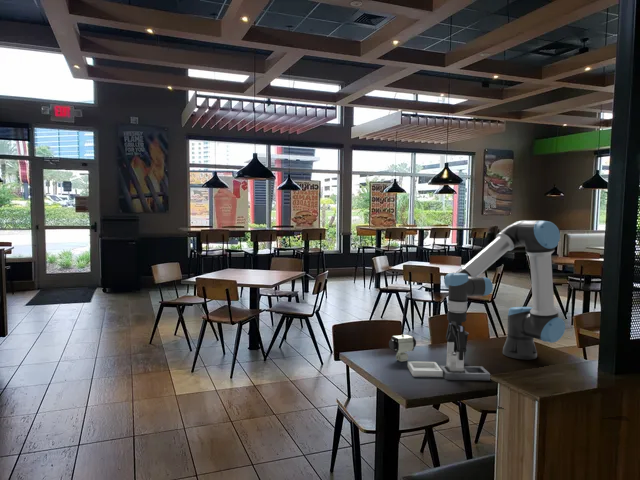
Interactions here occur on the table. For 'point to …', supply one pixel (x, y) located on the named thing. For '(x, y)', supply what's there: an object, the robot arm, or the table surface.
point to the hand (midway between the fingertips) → (454, 362)
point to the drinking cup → (465, 341)
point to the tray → (425, 369)
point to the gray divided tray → (467, 373)
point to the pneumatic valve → (402, 346)
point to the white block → (453, 363)
